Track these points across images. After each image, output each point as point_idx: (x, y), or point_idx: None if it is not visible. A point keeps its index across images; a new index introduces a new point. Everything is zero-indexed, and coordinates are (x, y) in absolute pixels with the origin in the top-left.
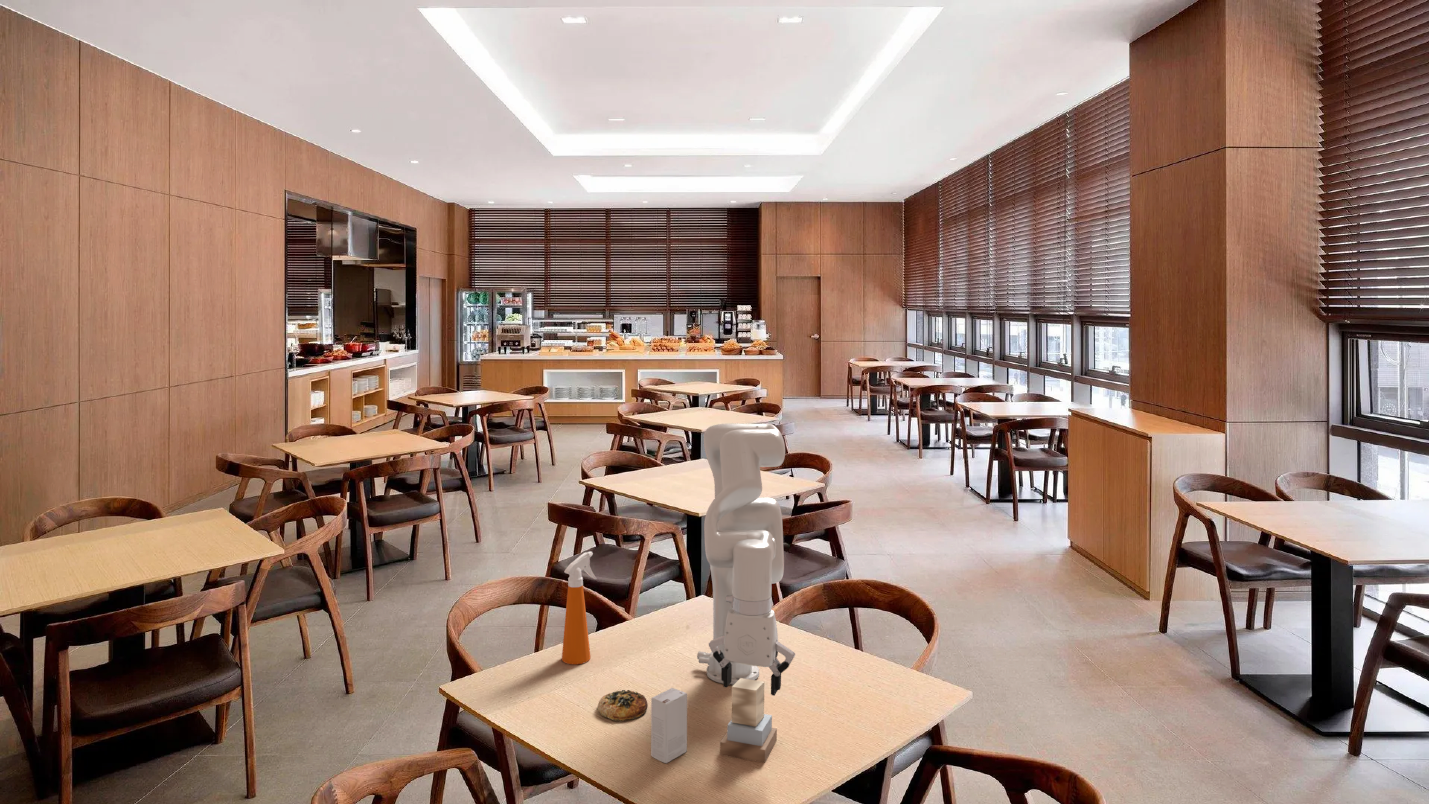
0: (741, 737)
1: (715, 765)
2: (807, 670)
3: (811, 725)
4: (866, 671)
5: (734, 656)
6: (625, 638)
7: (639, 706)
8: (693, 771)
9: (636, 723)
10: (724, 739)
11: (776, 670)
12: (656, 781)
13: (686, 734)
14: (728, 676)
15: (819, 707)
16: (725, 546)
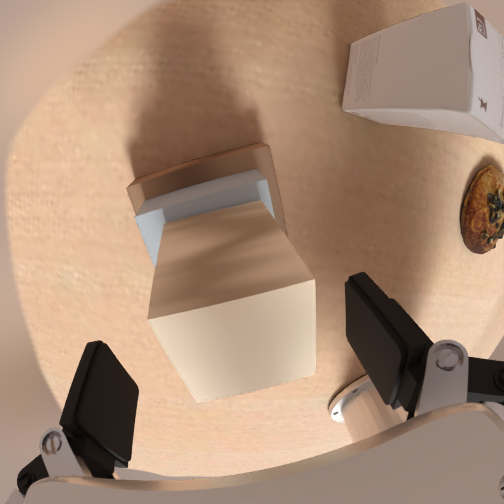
0: (209, 184)
1: (241, 88)
2: (271, 446)
3: (161, 365)
4: (204, 466)
5: (408, 496)
6: (484, 352)
7: (477, 212)
8: (275, 38)
9: (461, 178)
10: (265, 167)
11: (50, 457)
12: None
13: (365, 105)
14: (369, 332)
15: (192, 407)
16: None
